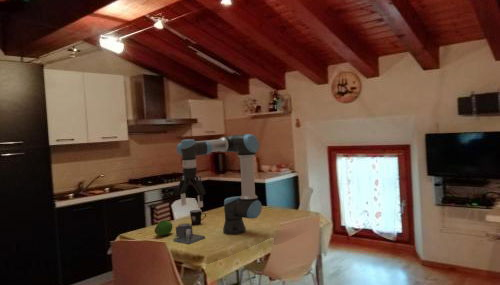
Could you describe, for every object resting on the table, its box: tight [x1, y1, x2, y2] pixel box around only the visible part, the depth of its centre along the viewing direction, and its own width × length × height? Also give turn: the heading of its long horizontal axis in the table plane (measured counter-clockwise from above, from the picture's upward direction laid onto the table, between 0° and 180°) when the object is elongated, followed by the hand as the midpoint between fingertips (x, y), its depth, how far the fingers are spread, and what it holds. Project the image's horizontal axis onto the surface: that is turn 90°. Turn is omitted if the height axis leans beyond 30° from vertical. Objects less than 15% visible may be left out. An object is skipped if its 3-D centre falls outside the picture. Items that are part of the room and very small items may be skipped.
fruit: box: [154, 219, 173, 236], centre depth 254 cm, size 15×10×10 cm, turn 157°
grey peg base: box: [172, 229, 206, 245], centre depth 241 cm, size 14×14×6 cm
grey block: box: [175, 223, 194, 237], centre depth 252 cm, size 8×8×7 cm
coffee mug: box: [189, 209, 207, 226], centre depth 280 cm, size 12×9×10 cm
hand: (192, 206), depth 207 cm, fingers open, 13 cm apart
